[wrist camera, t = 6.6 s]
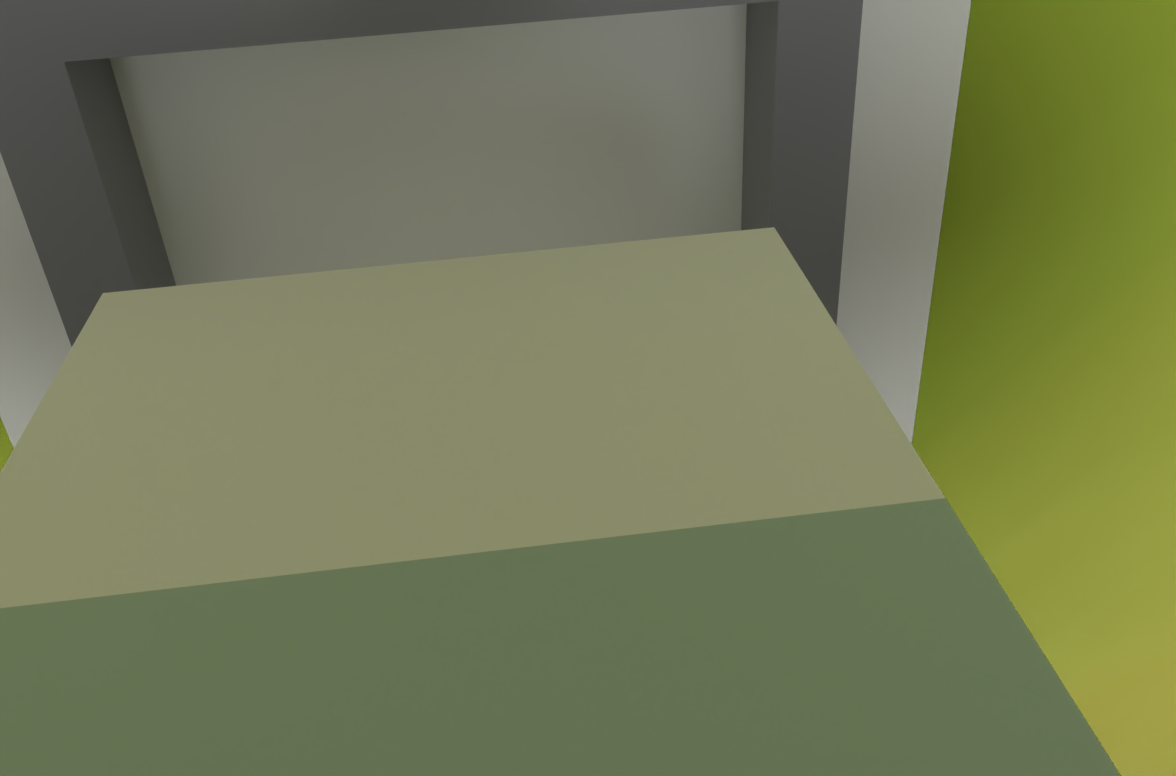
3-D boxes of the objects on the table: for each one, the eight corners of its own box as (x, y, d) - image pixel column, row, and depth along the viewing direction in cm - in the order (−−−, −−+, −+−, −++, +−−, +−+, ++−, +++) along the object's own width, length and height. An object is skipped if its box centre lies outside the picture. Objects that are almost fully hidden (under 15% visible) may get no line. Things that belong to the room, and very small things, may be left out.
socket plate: (971, -325, 13) (1081, -329, 11) (870, 543, 21) (923, 646, 19) (-221, -247, 12) (-369, -234, 10) (129, 632, 20) (90, 753, 18)
